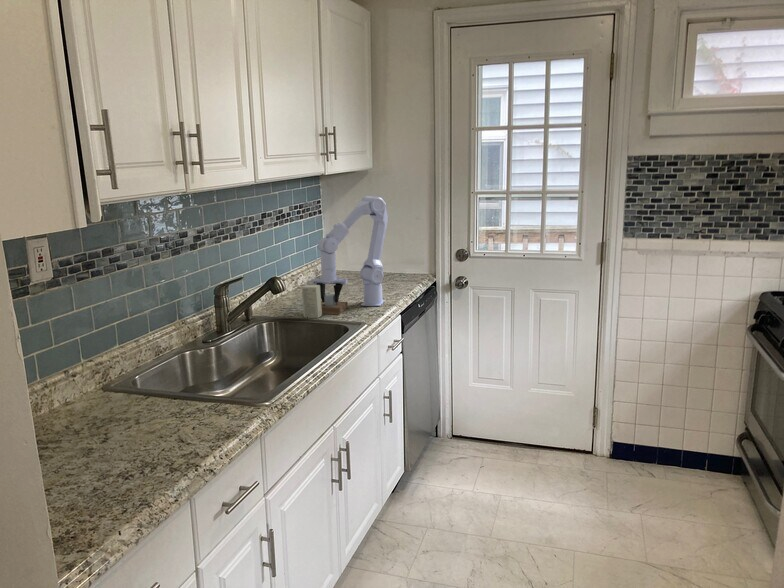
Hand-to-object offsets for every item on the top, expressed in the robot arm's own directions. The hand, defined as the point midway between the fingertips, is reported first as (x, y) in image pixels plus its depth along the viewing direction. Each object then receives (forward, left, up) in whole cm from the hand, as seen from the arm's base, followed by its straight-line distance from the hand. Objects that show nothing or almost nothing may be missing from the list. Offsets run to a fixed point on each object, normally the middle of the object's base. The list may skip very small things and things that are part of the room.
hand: (330, 301), depth 256 cm
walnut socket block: (0, 0, -4) cm, 4 cm away
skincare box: (+10, -4, -4) cm, 11 cm away
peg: (0, 0, -3) cm, 3 cm away
